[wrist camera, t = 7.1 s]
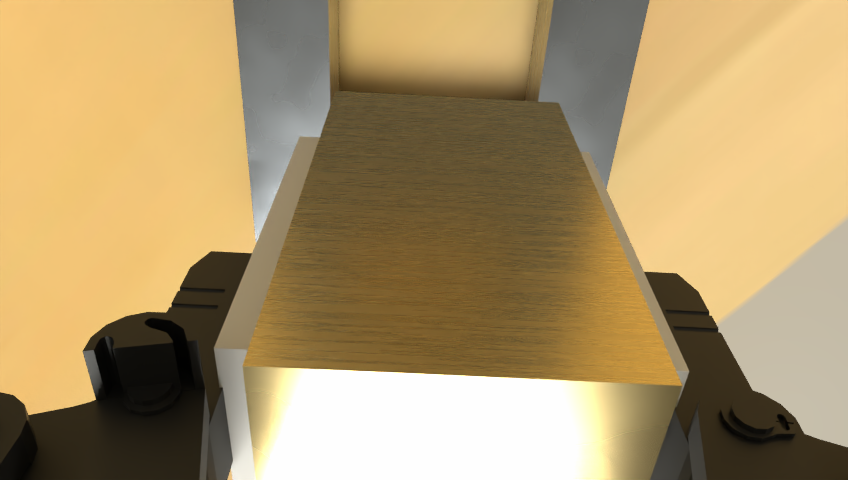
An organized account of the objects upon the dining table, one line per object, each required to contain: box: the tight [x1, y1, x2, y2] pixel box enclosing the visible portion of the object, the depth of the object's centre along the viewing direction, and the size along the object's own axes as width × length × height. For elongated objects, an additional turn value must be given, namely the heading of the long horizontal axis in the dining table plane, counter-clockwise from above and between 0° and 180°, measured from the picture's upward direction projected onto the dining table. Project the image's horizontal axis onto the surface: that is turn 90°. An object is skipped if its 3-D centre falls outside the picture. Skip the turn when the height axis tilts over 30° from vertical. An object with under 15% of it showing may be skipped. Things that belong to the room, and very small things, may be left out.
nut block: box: [242, 91, 683, 480], centre depth 12 cm, size 4×4×8 cm
